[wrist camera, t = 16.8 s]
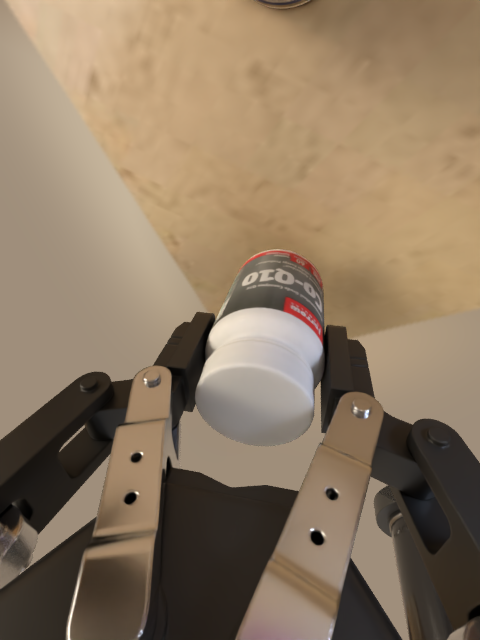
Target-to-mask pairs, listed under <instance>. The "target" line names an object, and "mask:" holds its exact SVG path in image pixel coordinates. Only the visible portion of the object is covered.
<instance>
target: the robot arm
mask: <svg viewBox="0 0 480 640" xmlns="http://www.w3.org/2000/svg"><path fill="white" fill-rule="evenodd" d="M214 323H215V315H214V314H213V313H203V312H197V313H196V314H195V316H194V318H193V320H192V321H191V323H190V322H184V323H183V324H181V325H180V326H178V327H177V328H176V329H175V331H174V332H173V334H172V336H171V338H170V339H169V340H168V342H167V344H166V345H165V347H164V348H163V350H162V352H161V353H160V355H159V356H158V358H157V360H156V362H155V363H154V365H153V366H150V367H146V368H144V369H142V370H141V371H139V372H138V373H137V374H136V375H135V377H134V379H131V380H124V381H115V382H111V379H110V377H109V376H108V375H107V374H106V373H103V372H91V373H88V374H85V375H83V376H81V377H79V378H78V379H76V380H75V381H74V382H73V383H71V384H70V385H69V386H68V387H66V388H65V389H64V390H63V391H61V392H60V393H59V394H58V395H56V396H55V397H54V398H53V399H51V400H50V401H49V402H48V403H46V404H45V405H44V406H43V407H41V408H40V409H39V410H38V411H36V412H35V413H34V414H33V415H31V416H30V417H29V418H28V419H26V420H25V421H24V422H23V423H21V424H20V425H19V426H18V427H16V428H15V429H14V430H13V431H11V432H10V433H9V434H8V435H6V436H5V437H4V438H3V439H1V440H0V640H402V639H401V637H400V635H399V634H398V632H397V630H396V629H395V627H394V626H393V624H392V622H391V621H390V619H389V618H388V616H387V615H386V613H385V611H384V610H383V608H382V607H381V605H380V603H379V602H378V600H377V599H376V597H375V595H374V594H373V592H372V591H371V589H370V588H369V586H368V584H367V583H366V581H365V580H364V578H363V576H362V575H361V573H360V572H359V570H358V569H357V567H356V565H355V564H354V562H353V561H352V559H351V553H352V548H353V545H354V540H355V536H356V532H357V529H358V525H359V520H360V517H361V513H362V509H363V504H364V500H365V496H366V492H367V488H368V484H369V480H370V476H371V477H373V478H375V479H377V480H379V481H381V482H383V483H385V484H387V485H389V487H390V489H391V491H392V494H393V496H394V498H395V500H396V502H397V505H398V507H399V509H400V510H397V511H396V512H394V513H393V514H392V515H391V516H390V518H389V520H388V523H389V529H390V533H391V535H392V541H393V546H394V552H395V558H396V565H397V570H398V576H399V582H400V588H401V593H402V599H403V605H404V611H405V617H406V623H407V629H408V634H409V640H480V463H479V461H478V460H477V459H476V457H475V456H474V455H473V453H472V452H471V451H470V449H469V448H468V446H467V445H466V444H465V442H464V441H463V440H462V438H461V437H460V436H459V434H458V433H457V432H456V431H455V430H453V429H452V428H451V427H449V426H448V425H446V424H444V423H442V422H440V421H437V420H433V419H421V420H418V421H416V422H415V423H414V424H413V425H412V424H409V423H407V422H404V421H402V420H399V419H397V418H395V417H392V416H391V415H389V414H388V413H386V412H385V411H384V410H383V408H382V406H381V404H380V403H379V402H378V401H377V400H376V399H375V397H374V392H373V387H372V382H371V377H370V372H369V368H368V362H367V357H366V352H365V349H364V347H363V346H362V345H361V344H360V342H359V341H358V340H350V339H347V332H346V327H343V326H333V325H327V327H326V332H325V368H324V373H323V376H322V378H321V428H322V429H321V431H322V433H326V434H325V437H324V439H323V441H322V443H320V444H319V446H318V448H317V450H316V452H315V455H314V457H313V459H312V462H311V464H310V467H309V469H308V472H307V474H306V476H305V479H304V481H303V483H302V486H301V488H300V490H299V491H294V490H288V489H284V488H278V487H273V486H268V485H262V486H247V487H236V488H235V487H233V488H232V487H228V486H226V485H224V484H222V483H220V482H218V481H216V480H214V479H212V478H210V477H208V476H206V475H204V474H202V473H199V472H194V471H189V470H183V469H180V444H181V421H180V418H181V416H182V414H183V411H188V412H193V409H194V407H195V404H196V401H195V392H196V388H197V384H198V382H199V379H200V376H201V374H202V370H203V366H204V364H205V363H206V361H205V346H206V342H207V339H208V336H209V333H210V331H211V329H212V327H213V325H214ZM83 425H85V428H84V429H83V430H82V431H81V432H80V433H79V434H78V435H77V436H76V437H75V438H74V439H73V440H72V441H70V442H69V443H68V444H67V445H66V446H65V447H64V448H63V449H62V450H61V451H60V452H59V450H60V449H61V447H62V446H63V444H64V443H65V442H66V441H67V440H69V439H70V438H71V437H72V436H73V435H74V434H75V433H76V432H77V431H78V430H79V429H80V428H81V427H82V426H83ZM110 453H111V454H110ZM109 455H110V459H109V463H108V468H107V472H106V477H105V482H104V486H103V490H102V495H101V500H100V504H99V508H98V513H97V517H95V518H94V519H93V520H91V521H90V522H89V523H87V524H86V525H85V526H84V527H82V528H81V529H79V530H78V531H77V532H75V533H74V534H73V535H71V536H70V537H69V538H68V539H66V540H65V541H64V542H62V543H61V544H60V545H58V546H57V547H56V548H54V549H53V550H52V551H50V552H49V553H48V554H46V555H45V556H44V557H42V558H41V559H40V560H38V561H37V562H36V563H34V564H33V565H32V566H30V567H29V568H28V569H26V568H27V567H28V566H29V564H30V563H31V561H32V558H33V554H32V553H33V552H34V549H35V547H36V544H37V539H38V534H39V533H40V532H41V531H42V530H43V529H44V528H45V526H46V525H47V524H48V523H49V522H50V521H51V520H52V518H53V517H54V516H55V515H56V514H57V513H58V512H59V511H60V510H61V508H62V507H63V506H64V505H65V504H66V503H67V502H68V501H69V499H70V498H71V497H72V496H73V495H74V494H75V493H76V491H77V490H78V489H79V488H80V487H81V486H82V485H83V484H84V483H85V481H86V480H87V479H88V478H89V477H90V476H91V475H92V474H93V473H94V471H95V470H96V469H97V468H98V467H99V466H100V465H101V463H102V462H103V461H104V460H105V459H106V458H107V457H108V456H109ZM25 569H26V570H25ZM24 570H25V571H24ZM22 571H24V572H22ZM20 572H22V573H21V574H20ZM19 574H20V575H19Z"/></svg>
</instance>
